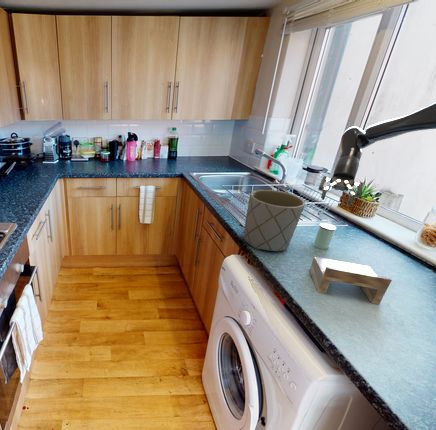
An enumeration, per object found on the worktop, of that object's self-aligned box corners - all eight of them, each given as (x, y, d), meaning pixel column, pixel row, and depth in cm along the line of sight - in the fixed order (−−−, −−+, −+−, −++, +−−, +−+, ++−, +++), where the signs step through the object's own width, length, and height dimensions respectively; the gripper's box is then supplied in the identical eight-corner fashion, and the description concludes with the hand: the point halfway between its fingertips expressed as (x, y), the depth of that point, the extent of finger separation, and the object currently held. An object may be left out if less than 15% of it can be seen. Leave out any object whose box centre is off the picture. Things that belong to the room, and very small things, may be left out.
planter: (276, 232, 127) (288, 190, 119) (300, 255, 110) (316, 208, 102) (233, 231, 128) (242, 188, 119) (250, 254, 110) (262, 206, 102)
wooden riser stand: (363, 281, 96) (373, 258, 92) (379, 304, 86) (392, 280, 82) (308, 270, 101) (316, 249, 97) (318, 291, 91) (327, 268, 87)
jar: (326, 243, 119) (333, 224, 115) (330, 250, 114) (338, 230, 110) (311, 241, 120) (318, 222, 117) (314, 247, 116) (321, 228, 112)
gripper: (327, 161, 123) (316, 193, 119) (370, 167, 115) (359, 201, 112) (324, 170, 129) (314, 201, 125) (364, 177, 121) (354, 210, 118)
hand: (335, 201), depth 119 cm, fingers open, 8 cm apart
